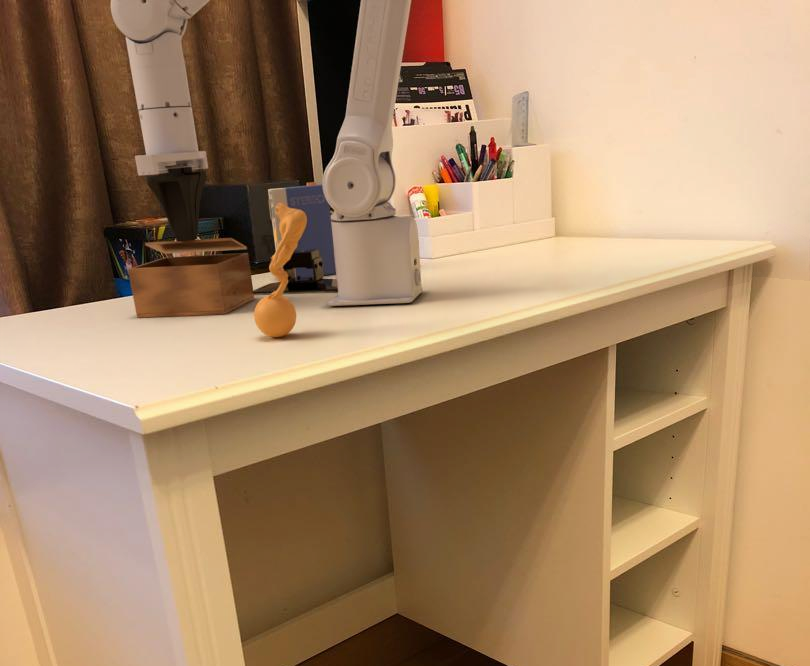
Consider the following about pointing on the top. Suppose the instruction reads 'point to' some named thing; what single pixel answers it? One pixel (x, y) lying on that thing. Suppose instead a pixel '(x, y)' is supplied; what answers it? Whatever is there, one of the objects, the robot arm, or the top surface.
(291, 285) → the black angular piece
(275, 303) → the figurine
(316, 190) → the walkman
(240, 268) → the carton
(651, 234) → the top surface
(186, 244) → the flap
